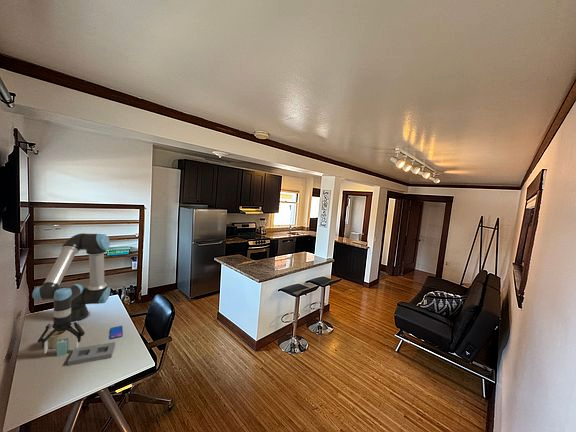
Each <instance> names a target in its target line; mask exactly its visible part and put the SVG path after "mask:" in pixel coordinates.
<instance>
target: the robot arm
mask: <svg viewBox="0 0 576 432" xmlns="http://www.w3.org/2000/svg"><path fill="white" fill-rule="evenodd" d="M110 242H111V240H110V238H109V236H108V235H107V234H105V233H103V234H101V233H77V234H75V235H72V236H71V237H69V238H68V239H67V240H66V241H64V243H63V244H62V246H61V247H60V253H59V255H58V257H57V258H56V260H55V263H54V264H53V266H52V268H51V270H50V272H49V273H48V275H47V277H46V279H45V281H44V282H43V284H42V286H37V287H35V288H34V289H33V290H32V294H31V296H32V299H34V300H36V301H45V300H53V324H51V323H47V325H45V329H44V331H43V332H42V334H41V335H40V337H39V338H38V340H37V343H41V347H42V348H43V350H44V351H43V352H44V354H47V352H48V351H49V344H48V338H49V337H50V336H51V335H52V334H54V333H55V332H56V331H58V332H60V331H65V330H67V331H66V332H69V333H71V334H72V335H74V337H75V348H74V349H76V348H79V345H80V342H81V340H82V339H81V338H82V337H84V335H85V331H84V329H83V328H82V327H81V325H80V324H79V321H82V320H85V319H86V318H87V317H89V314H90V312H89V310H88V307H87V306H86V305H97V304H98V305H99V304H105V303H106V302H107V301H108V299H109V298H110V295H111V287H110V286H109V287H108V284H107V283H106V282H105V253H106V252H107V251H108V250H109V249H110ZM81 250H83V251H84V250H85V251H86V252H85V253H86V255H88V265H89V285H88V286H86V285H84V284H79V283H75V284H71V285H70V286H68V285H67V286H65V285H63V286H62V285H61V286H60V284H61V282H62V281H63V279H64V277H65V275H66V273H67V272H68V269H69V267H70V265H71V263H72V261H73V260H74V258H75V256H76V255H77V254H78V253H79V252H80V251H81ZM71 325H72V326H71ZM50 329H52V330H53V331H52V332H51V333H50V334H49V335H48V336H47V337H46V333H47V332H49V331H50Z"/></svg>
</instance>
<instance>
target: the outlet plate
mask: <svg viewBox="0 0 576 432" xmlns="http://www.w3.org/2000/svg"><path fill="white" fill-rule="evenodd" d="M115 347H116V341H113V342H108V343H101V344H96V345H95V344H94V345H88V346H82V347H78V348H76V347H75V348H76V349H75V348H74V350H73V351H72V353H71V355H70V357H69V358H68V360H67V366H73V365H79V364H83V363H84V364H85V363H90V362H91V363H92V362H95V361H100V360H107V359H111V358H112V357H113V353H114V350H115Z"/></svg>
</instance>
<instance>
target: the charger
mask: <svg viewBox="0 0 576 432" xmlns="http://www.w3.org/2000/svg"><path fill="white" fill-rule="evenodd" d="M68 352H69V338H64V339H60V340H59V341H58V342H57V348H56V357H61V356H66V355H67V354H68Z"/></svg>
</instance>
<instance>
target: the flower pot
mask: <svg viewBox="0 0 576 432" xmlns="http://www.w3.org/2000/svg"><path fill="white" fill-rule="evenodd" d="M53 330H54V329H51V330H48V331H47V333H46V334H45V337H47V336H48V335H49V334H50V333H51V332H52V331H53ZM66 332H68V331H67V330H65V331H60V332H58V331H56V332H55V333H54V334H52V335H51V336H50V337H49V338H48V339H47V340H48V349H57V342H58V341H59V340H60V339H65V335H66Z"/></svg>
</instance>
